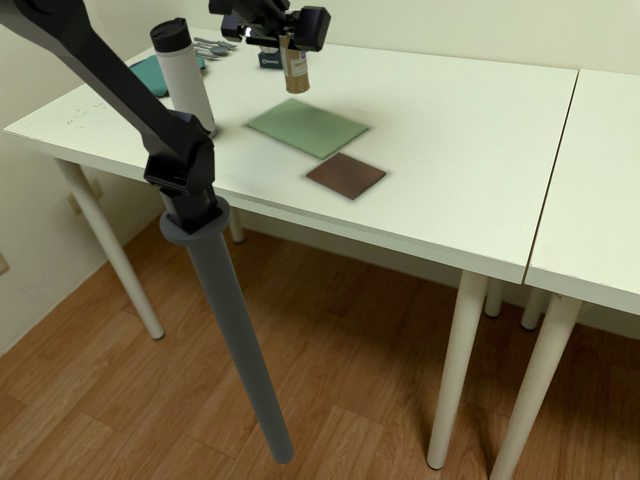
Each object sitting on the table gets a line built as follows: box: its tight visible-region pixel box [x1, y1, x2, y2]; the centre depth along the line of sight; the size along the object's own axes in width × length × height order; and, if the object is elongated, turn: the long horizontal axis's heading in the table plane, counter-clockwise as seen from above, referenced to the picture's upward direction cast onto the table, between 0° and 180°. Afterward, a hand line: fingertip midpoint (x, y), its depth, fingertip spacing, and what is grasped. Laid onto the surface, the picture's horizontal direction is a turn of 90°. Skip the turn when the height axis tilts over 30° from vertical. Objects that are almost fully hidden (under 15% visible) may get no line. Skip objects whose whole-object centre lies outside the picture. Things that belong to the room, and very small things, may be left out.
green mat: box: [246, 98, 369, 161], centre depth 86 cm, size 12×20×1 cm, turn 46°
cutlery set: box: [128, 36, 238, 97], centre depth 111 cm, size 20×30×2 cm, turn 147°
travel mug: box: [149, 16, 218, 139], centre depth 82 cm, size 6×7×20 cm
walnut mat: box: [305, 151, 387, 200], centre depth 74 cm, size 8×10×1 cm
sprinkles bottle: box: [279, 8, 311, 95], centre depth 82 cm, size 5×5×13 cm
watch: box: [257, 46, 283, 70], centre depth 105 cm, size 6×8×11 cm
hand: (297, 48), depth 82 cm, fingers closed on sprinkles bottle, 4 cm apart
